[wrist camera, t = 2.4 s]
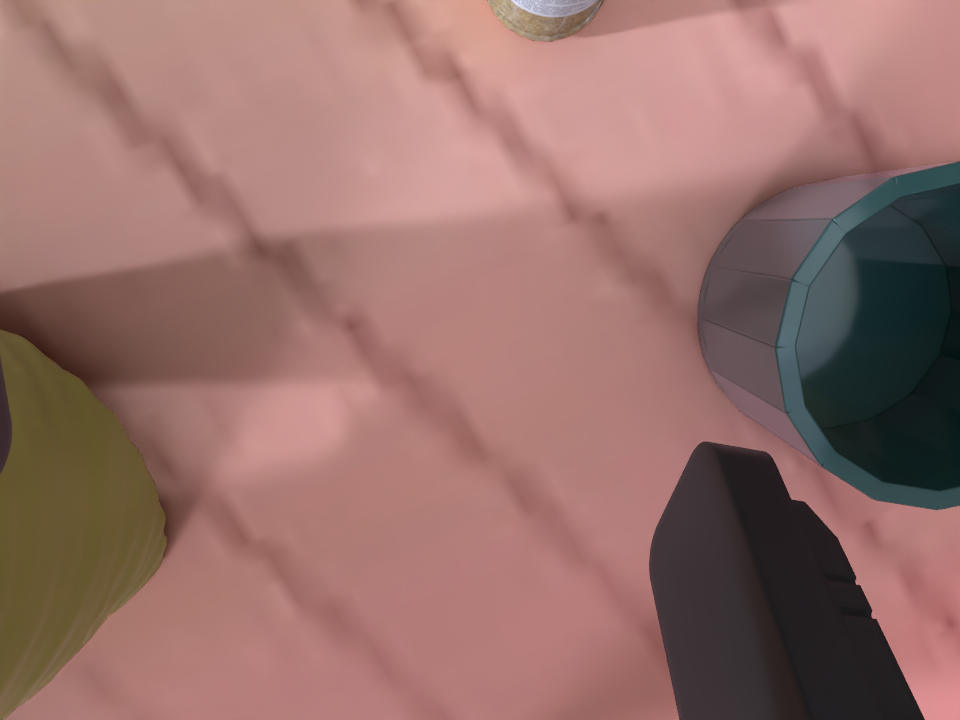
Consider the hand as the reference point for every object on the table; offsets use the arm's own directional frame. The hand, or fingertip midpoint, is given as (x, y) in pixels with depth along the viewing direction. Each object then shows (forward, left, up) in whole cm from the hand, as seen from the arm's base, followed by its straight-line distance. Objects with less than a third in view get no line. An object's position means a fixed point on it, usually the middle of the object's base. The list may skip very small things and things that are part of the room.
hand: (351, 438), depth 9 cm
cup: (+9, +12, -21) cm, 26 cm away
